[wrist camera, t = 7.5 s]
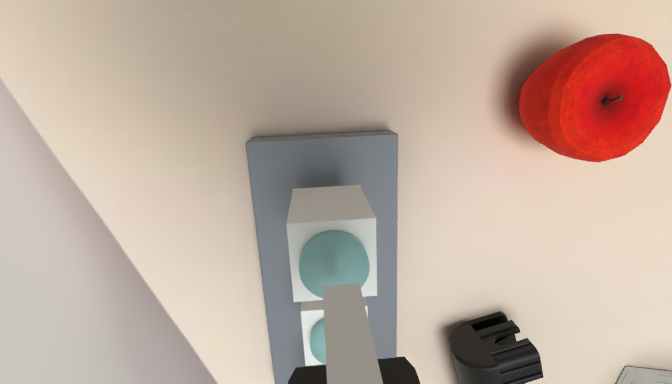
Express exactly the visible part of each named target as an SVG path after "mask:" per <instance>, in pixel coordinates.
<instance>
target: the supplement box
mask: <svg viewBox="0 0 672 384" xmlns="http://www.w3.org/2000/svg"><path fill="white" fill-rule="evenodd" d="M617 384H672V372H671V371H663V370H654V369H646V368H638V367H629V366H626V367H625V368H624V370H623V372H622V374H621V376H620V378H619V380H618V382H617Z"/></svg>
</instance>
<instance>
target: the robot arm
mask: <svg viewBox="0 0 672 384" xmlns="http://www.w3.org/2000/svg"><path fill="white" fill-rule="evenodd" d="M322 287H323V308H324V329H325V350H326V365H317V366H306V367H296V368H295V370H294V372H293V373H292V375H291V377H290V379H289V381H288V384H420V381H419V379H418V376H417V373H416V370H415V368H414V367H413V366H412V365H411V364H410V363H409V362H408V360H407V359H406V358H405V357H396V358H384V359H377V355H376V351H375V347H374V343H373V338H372V334H371V330H370V326H369V321H368V317H367V313H366V309H365V304H364V300H363V296H362V292H361V287H360V283H352V284H339V285H326V286H322Z"/></svg>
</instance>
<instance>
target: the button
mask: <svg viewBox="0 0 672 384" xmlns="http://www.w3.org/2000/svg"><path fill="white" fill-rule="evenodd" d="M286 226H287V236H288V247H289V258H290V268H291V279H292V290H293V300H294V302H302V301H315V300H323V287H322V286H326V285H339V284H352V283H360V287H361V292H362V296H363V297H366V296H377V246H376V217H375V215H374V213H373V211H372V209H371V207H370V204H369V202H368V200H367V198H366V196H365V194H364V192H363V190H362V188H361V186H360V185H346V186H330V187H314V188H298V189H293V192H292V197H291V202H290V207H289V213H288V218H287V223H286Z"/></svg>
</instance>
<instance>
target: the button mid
mask: <svg viewBox="0 0 672 384" xmlns="http://www.w3.org/2000/svg"><path fill="white" fill-rule="evenodd" d="M363 300H364V304H365V309H366V313H367V317H368V306H367V302H366V298H365V297H363ZM301 321H302V332H303V344H304V355H305V366H309V365H321V364H325V365H326V350H325V329H324V308H323V300H315V301H302V302H301Z"/></svg>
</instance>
